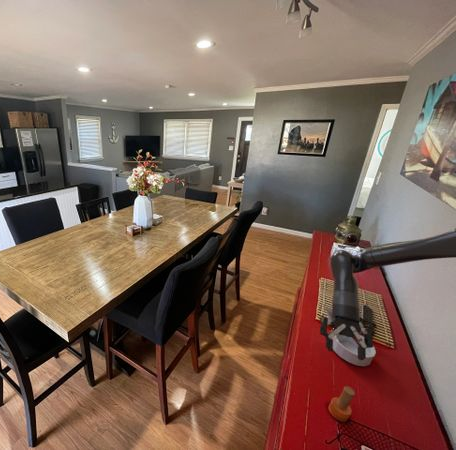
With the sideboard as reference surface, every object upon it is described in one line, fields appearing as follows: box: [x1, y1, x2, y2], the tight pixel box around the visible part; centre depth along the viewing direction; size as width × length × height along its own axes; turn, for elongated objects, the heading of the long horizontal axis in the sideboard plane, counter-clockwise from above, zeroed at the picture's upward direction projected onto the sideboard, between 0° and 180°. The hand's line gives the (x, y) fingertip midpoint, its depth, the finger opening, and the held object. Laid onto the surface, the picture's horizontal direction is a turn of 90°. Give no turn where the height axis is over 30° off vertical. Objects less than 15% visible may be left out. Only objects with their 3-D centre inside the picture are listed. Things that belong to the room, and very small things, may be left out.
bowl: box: [332, 334, 377, 367], centre depth 97 cm, size 13×13×6 cm
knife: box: [360, 304, 377, 337], centre depth 115 cm, size 25×6×1 cm, turn 135°
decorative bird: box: [321, 306, 365, 335], centre depth 110 cm, size 5×16×7 cm, turn 57°
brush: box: [328, 385, 356, 423], centre depth 75 cm, size 5×5×11 cm
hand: (345, 355), depth 79 cm, fingers open, 8 cm apart
